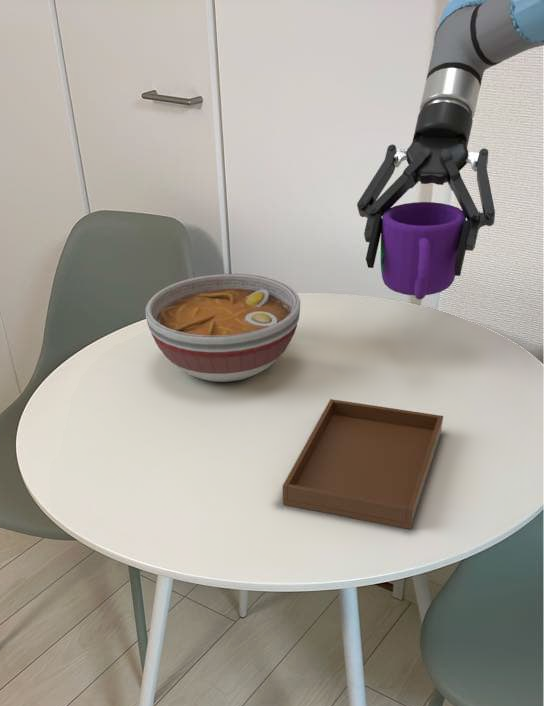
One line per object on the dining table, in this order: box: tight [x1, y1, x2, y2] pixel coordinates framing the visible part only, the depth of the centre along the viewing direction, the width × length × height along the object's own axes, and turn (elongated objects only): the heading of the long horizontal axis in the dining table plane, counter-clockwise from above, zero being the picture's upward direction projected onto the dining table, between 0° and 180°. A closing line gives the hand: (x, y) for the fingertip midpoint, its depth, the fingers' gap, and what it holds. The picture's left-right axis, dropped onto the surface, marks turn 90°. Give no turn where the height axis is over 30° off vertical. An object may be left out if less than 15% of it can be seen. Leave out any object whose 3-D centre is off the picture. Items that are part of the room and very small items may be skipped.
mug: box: [380, 201, 467, 301], centre depth 105 cm, size 17×11×10 cm, turn 171°
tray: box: [282, 398, 444, 530], centre depth 94 cm, size 15×21×3 cm
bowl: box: [145, 273, 301, 383], centre depth 114 cm, size 23×23×10 cm
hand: (412, 267), depth 104 cm, fingers closed on mug, 11 cm apart
